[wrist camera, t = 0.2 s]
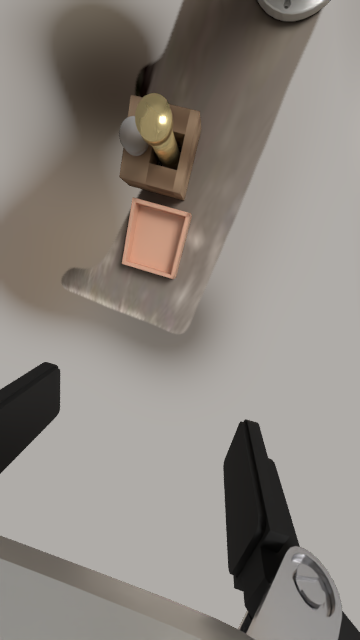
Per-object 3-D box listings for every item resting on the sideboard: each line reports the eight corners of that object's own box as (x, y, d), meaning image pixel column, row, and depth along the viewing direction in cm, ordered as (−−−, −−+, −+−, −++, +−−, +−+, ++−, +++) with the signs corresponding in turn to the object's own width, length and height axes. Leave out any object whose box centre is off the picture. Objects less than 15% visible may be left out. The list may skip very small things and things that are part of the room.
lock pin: (162, 142, 32) (138, 89, 22) (187, 149, 32) (175, 97, 21) (157, 172, 33) (132, 135, 23) (180, 179, 33) (166, 144, 23)
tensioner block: (140, 114, 31) (125, 84, 26) (201, 129, 31) (198, 101, 25) (129, 185, 35) (114, 172, 29) (184, 200, 34) (178, 189, 29)
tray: (138, 201, 35) (132, 197, 33) (191, 216, 35) (190, 213, 32) (127, 263, 39) (121, 263, 37) (175, 277, 38) (173, 279, 36)
